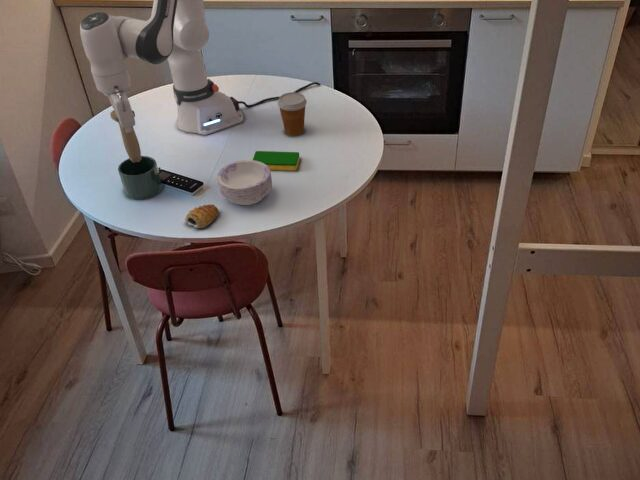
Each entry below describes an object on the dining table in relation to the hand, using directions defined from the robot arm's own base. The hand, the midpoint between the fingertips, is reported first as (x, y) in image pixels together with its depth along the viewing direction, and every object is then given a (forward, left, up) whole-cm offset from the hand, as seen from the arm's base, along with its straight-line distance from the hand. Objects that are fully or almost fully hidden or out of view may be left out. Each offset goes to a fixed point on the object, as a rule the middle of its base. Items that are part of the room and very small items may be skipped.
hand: (126, 126), depth 169 cm
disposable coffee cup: (-53, -10, -21) cm, 58 cm away
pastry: (-11, +23, -21) cm, 33 cm away
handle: (0, 0, -11) cm, 11 cm away
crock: (0, 0, -21) cm, 21 cm away
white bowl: (-26, +18, -21) cm, 38 cm away
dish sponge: (-40, +6, -21) cm, 45 cm away
